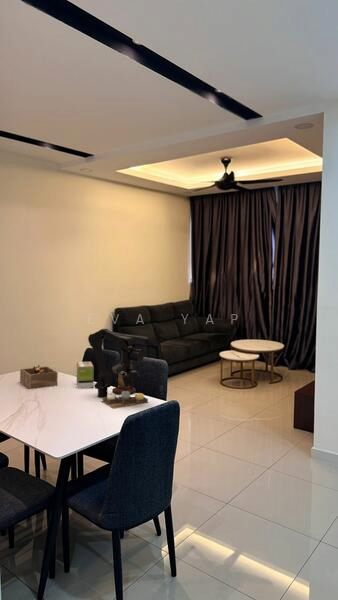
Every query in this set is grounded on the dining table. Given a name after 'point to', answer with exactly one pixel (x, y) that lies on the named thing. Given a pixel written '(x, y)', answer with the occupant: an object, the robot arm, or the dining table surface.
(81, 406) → the dining table surface
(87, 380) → the tea box
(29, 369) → the box
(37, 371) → the bear figurine
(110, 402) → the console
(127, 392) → the slate button
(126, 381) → the robot arm
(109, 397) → the cream button
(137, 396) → the mustard button
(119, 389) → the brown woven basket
